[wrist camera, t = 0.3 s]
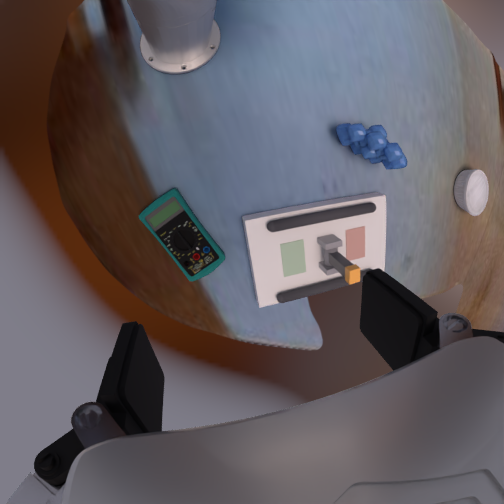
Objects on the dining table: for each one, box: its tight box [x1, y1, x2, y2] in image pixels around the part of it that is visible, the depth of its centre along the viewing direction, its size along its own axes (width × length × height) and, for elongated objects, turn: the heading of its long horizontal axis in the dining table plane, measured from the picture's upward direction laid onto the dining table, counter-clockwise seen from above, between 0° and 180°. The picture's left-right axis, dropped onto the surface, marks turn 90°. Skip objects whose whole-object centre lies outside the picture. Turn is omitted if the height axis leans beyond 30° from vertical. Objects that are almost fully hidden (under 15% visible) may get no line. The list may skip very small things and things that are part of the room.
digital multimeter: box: [139, 188, 225, 281], centre depth 44 cm, size 7×15×3 cm, turn 33°
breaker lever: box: [323, 247, 360, 285], centre depth 43 cm, size 3×2×10 cm
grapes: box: [336, 123, 407, 169], centre depth 39 cm, size 12×7×12 cm, turn 63°
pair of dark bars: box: [267, 202, 376, 303], centre depth 47 cm, size 15×20×2 cm
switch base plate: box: [242, 192, 386, 308], centre depth 48 cm, size 16×26×6 cm, turn 100°
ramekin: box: [454, 169, 489, 216], centre depth 51 cm, size 11×11×5 cm
